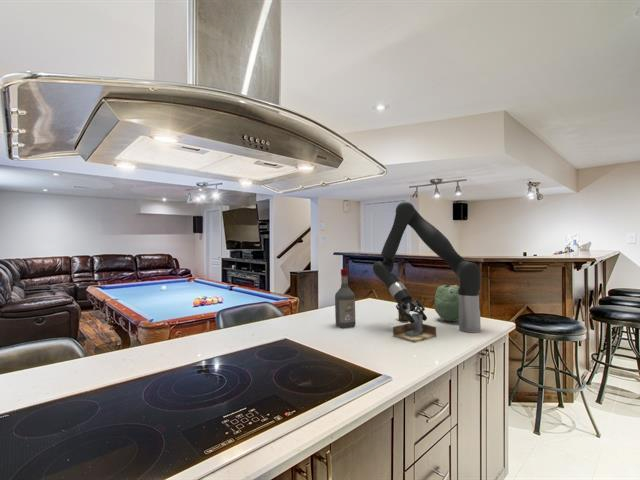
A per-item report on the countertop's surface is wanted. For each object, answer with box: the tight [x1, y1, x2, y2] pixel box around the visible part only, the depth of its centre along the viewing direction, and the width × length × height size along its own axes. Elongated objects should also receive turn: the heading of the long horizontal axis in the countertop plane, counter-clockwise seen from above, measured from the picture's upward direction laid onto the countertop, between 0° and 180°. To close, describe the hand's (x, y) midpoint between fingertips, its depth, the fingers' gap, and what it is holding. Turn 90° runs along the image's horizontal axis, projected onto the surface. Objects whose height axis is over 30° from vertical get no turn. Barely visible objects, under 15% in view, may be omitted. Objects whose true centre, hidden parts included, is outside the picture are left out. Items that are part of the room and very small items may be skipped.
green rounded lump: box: [433, 284, 460, 322], centre depth 177 cm, size 16×19×20 cm
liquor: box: [334, 268, 356, 329], centre depth 171 cm, size 9×9×30 cm
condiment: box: [395, 310, 410, 323], centre depth 180 cm, size 7×8×12 cm
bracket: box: [405, 312, 424, 337], centre depth 148 cm, size 8×4×9 cm, turn 122°
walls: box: [392, 322, 437, 336], centre depth 148 cm, size 15×12×4 cm
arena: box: [392, 332, 437, 344], centre depth 148 cm, size 15×12×1 cm
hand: (419, 321), depth 148 cm, fingers open, 8 cm apart
